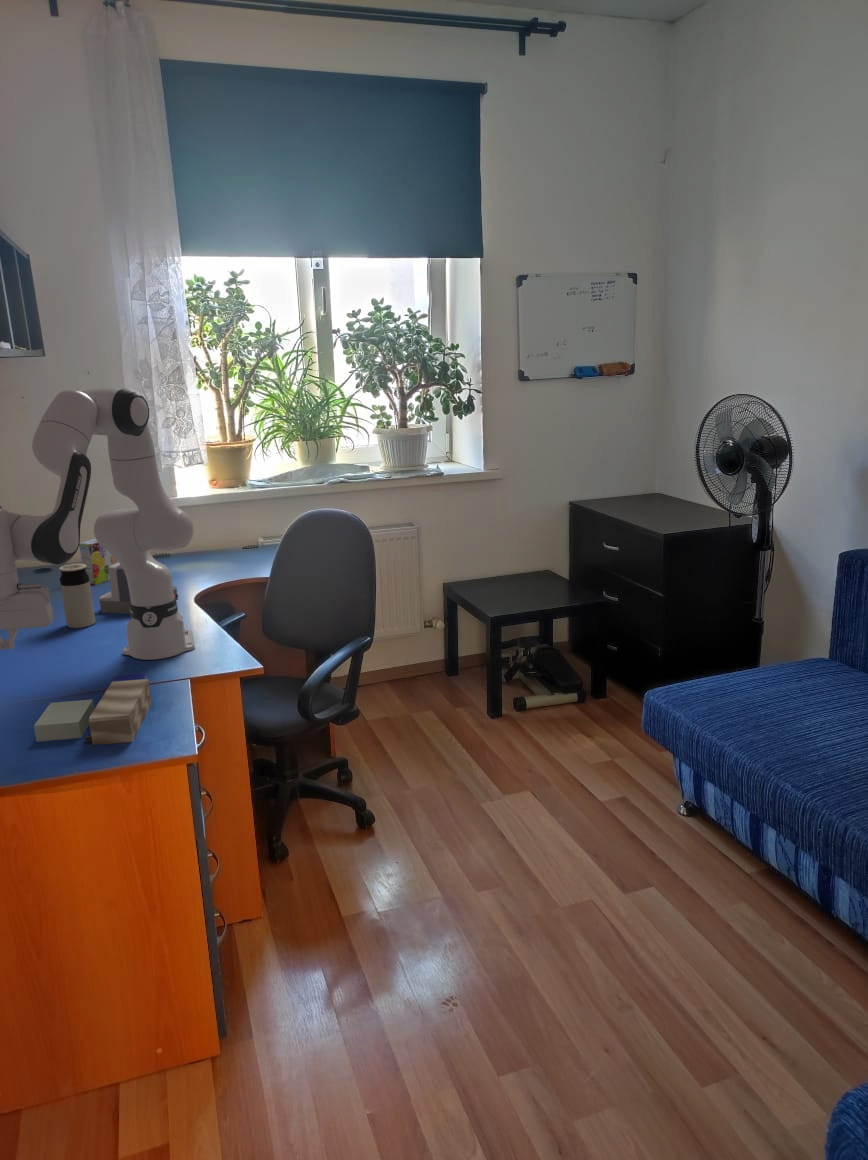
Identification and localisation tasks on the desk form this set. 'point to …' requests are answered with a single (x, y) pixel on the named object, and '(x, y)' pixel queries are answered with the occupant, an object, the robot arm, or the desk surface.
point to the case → (64, 720)
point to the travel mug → (77, 596)
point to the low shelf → (120, 712)
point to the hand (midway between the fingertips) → (6, 648)
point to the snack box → (96, 561)
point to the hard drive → (128, 677)
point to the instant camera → (118, 592)
